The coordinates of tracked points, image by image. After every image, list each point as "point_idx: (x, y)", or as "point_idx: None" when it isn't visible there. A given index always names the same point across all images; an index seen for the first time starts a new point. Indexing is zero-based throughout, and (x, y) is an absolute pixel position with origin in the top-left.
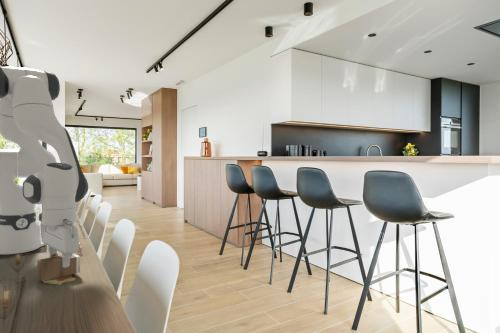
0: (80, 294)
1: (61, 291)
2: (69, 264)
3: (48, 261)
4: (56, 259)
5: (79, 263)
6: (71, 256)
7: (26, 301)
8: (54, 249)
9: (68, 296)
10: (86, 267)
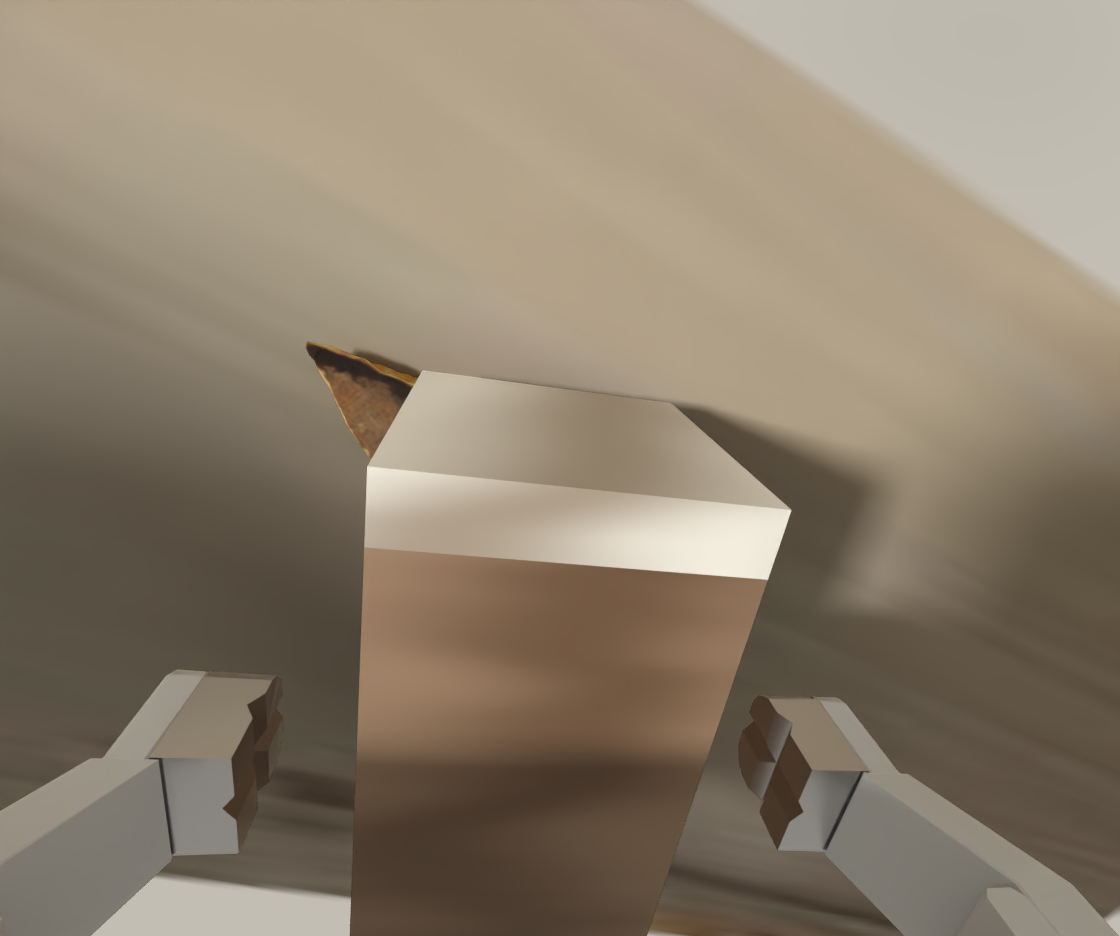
0: (1066, 622)
1: (864, 684)
2: (852, 715)
3: (580, 932)
4: (582, 845)
5: (718, 454)
6: (639, 628)
7: (792, 866)
8: (30, 883)
9: (1000, 689)
10: (353, 81)
